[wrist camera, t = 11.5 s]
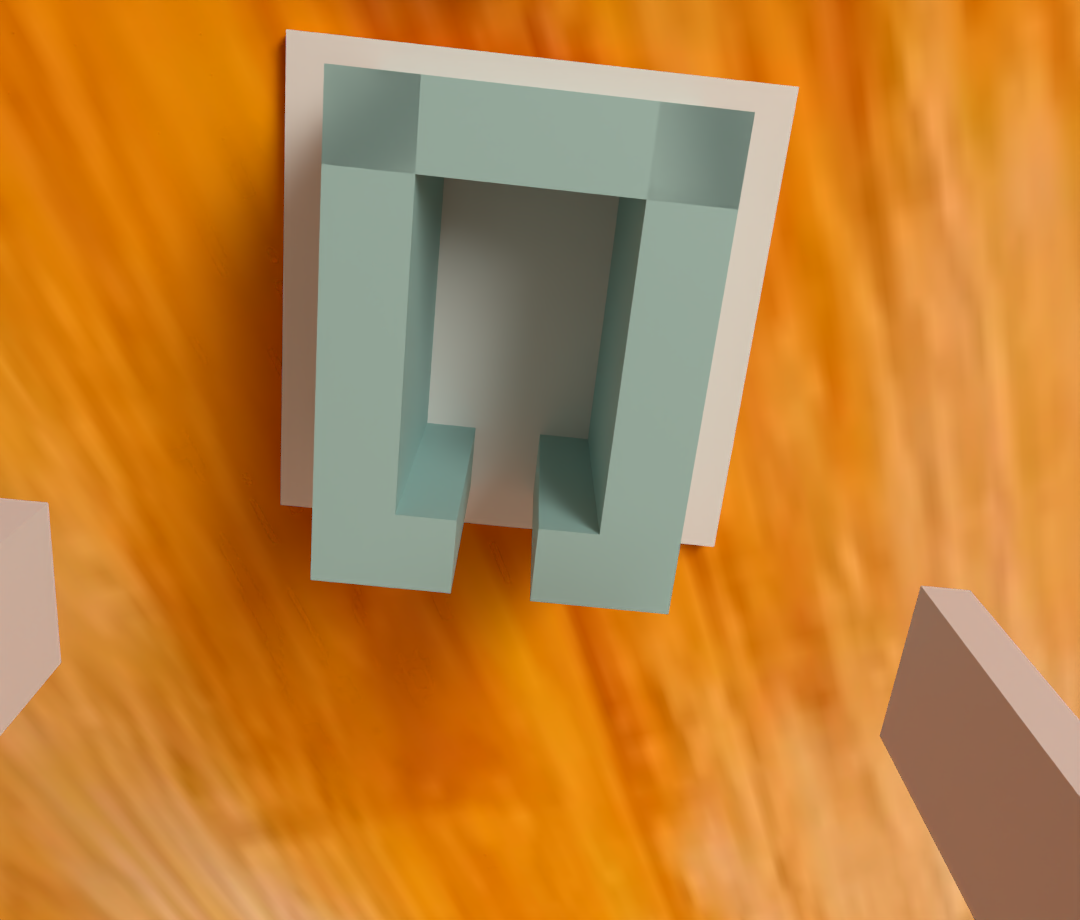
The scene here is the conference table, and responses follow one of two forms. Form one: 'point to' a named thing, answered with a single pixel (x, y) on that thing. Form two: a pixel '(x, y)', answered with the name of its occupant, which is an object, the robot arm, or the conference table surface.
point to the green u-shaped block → (409, 311)
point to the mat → (522, 278)
